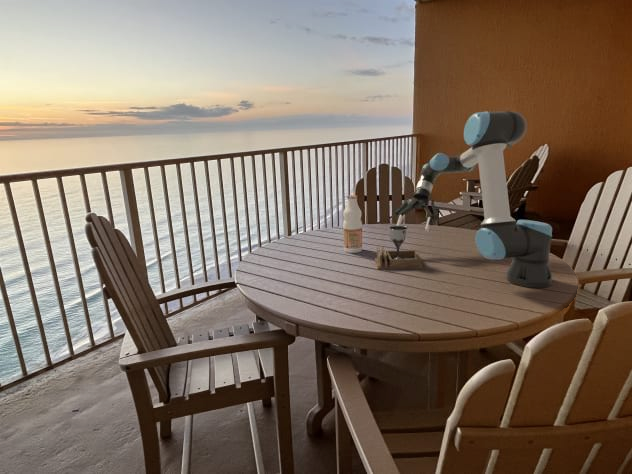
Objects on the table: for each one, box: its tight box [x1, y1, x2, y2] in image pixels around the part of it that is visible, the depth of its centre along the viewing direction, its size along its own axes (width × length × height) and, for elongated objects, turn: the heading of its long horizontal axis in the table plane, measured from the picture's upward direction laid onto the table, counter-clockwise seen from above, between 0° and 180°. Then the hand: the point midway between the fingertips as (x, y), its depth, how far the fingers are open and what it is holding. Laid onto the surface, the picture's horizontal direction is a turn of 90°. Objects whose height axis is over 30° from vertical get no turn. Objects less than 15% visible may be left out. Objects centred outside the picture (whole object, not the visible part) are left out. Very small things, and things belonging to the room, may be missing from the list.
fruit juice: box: [342, 194, 363, 254], centre depth 189 cm, size 9×9×28 cm
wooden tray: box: [374, 246, 423, 270], centre depth 169 cm, size 14×19×6 cm
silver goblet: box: [388, 225, 408, 260], centre depth 170 cm, size 8×8×15 cm
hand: (411, 229), depth 175 cm, fingers open, 13 cm apart
